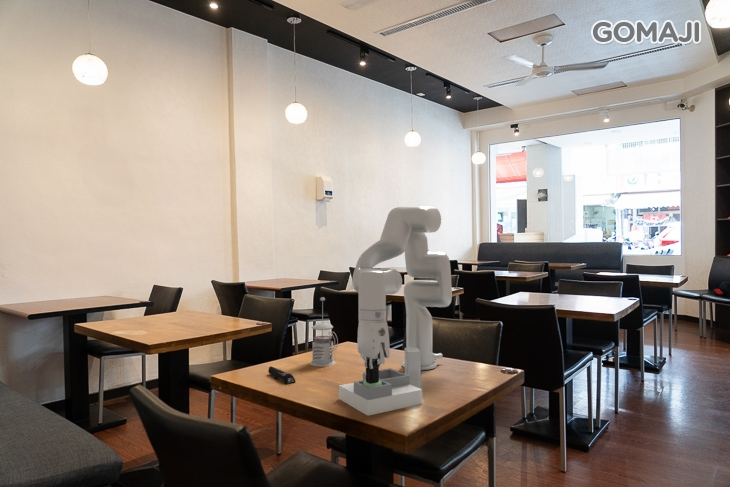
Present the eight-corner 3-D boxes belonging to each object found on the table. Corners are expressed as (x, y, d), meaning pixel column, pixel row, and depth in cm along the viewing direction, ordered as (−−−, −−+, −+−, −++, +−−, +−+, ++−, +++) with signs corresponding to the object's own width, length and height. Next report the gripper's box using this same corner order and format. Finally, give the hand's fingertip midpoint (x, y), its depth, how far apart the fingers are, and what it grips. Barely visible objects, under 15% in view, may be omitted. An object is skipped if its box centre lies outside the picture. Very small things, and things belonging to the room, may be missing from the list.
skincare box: (404, 384, 155) (404, 347, 155) (417, 384, 155) (417, 347, 155) (407, 390, 149) (407, 351, 149) (421, 390, 149) (421, 351, 149)
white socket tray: (390, 389, 150) (390, 366, 150) (422, 403, 137) (422, 378, 137) (339, 399, 141) (339, 374, 141) (367, 415, 127) (367, 389, 127)
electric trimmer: (275, 374, 170) (275, 364, 170) (296, 383, 158) (296, 373, 158) (265, 375, 168) (265, 366, 168) (286, 385, 156) (285, 375, 156)
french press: (321, 358, 190) (321, 295, 190) (344, 363, 184) (344, 297, 184) (304, 364, 182) (304, 297, 183) (327, 368, 176) (327, 299, 176)
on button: (375, 388, 136) (375, 378, 136) (385, 392, 132) (385, 382, 132) (360, 391, 134) (360, 381, 134) (369, 395, 129) (369, 385, 129)
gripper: (399, 317, 128) (399, 387, 128) (369, 311, 141) (369, 374, 141) (375, 319, 124) (375, 391, 124) (347, 313, 137) (347, 377, 137)
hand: (372, 382), depth 133 cm, fingers closed
